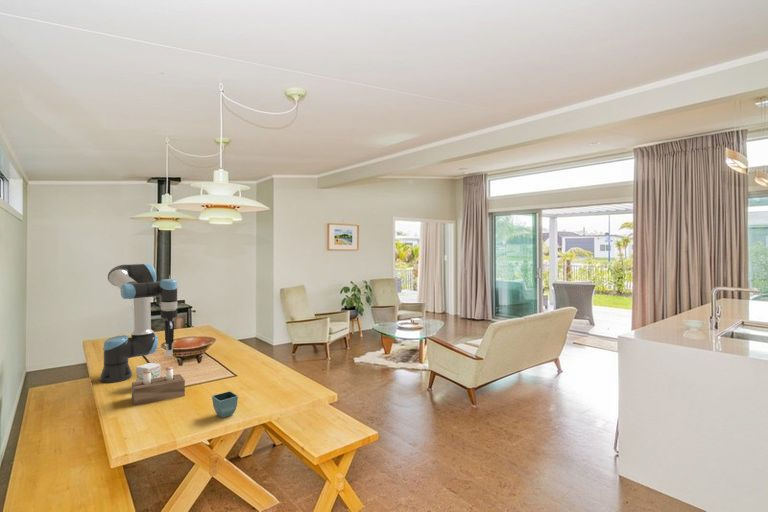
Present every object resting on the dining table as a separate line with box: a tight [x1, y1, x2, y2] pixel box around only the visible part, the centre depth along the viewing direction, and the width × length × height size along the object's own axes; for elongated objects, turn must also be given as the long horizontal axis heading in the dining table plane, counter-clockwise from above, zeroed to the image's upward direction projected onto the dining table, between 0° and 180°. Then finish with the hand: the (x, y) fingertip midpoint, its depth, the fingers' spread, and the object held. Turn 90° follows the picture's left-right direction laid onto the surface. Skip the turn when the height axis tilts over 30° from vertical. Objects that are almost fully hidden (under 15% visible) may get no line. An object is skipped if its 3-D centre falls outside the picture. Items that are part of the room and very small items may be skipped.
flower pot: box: [211, 390, 239, 419], centre depth 186 cm, size 9×9×9 cm
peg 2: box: [165, 366, 174, 381], centre depth 209 cm, size 3×3×8 cm
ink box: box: [135, 362, 162, 382], centre depth 220 cm, size 9×8×12 cm
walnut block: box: [131, 373, 186, 407], centre depth 206 cm, size 12×22×8 cm, turn 127°
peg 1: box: [143, 370, 151, 385], centre depth 203 cm, size 3×3×8 cm
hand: (169, 355), depth 209 cm, fingers closed
